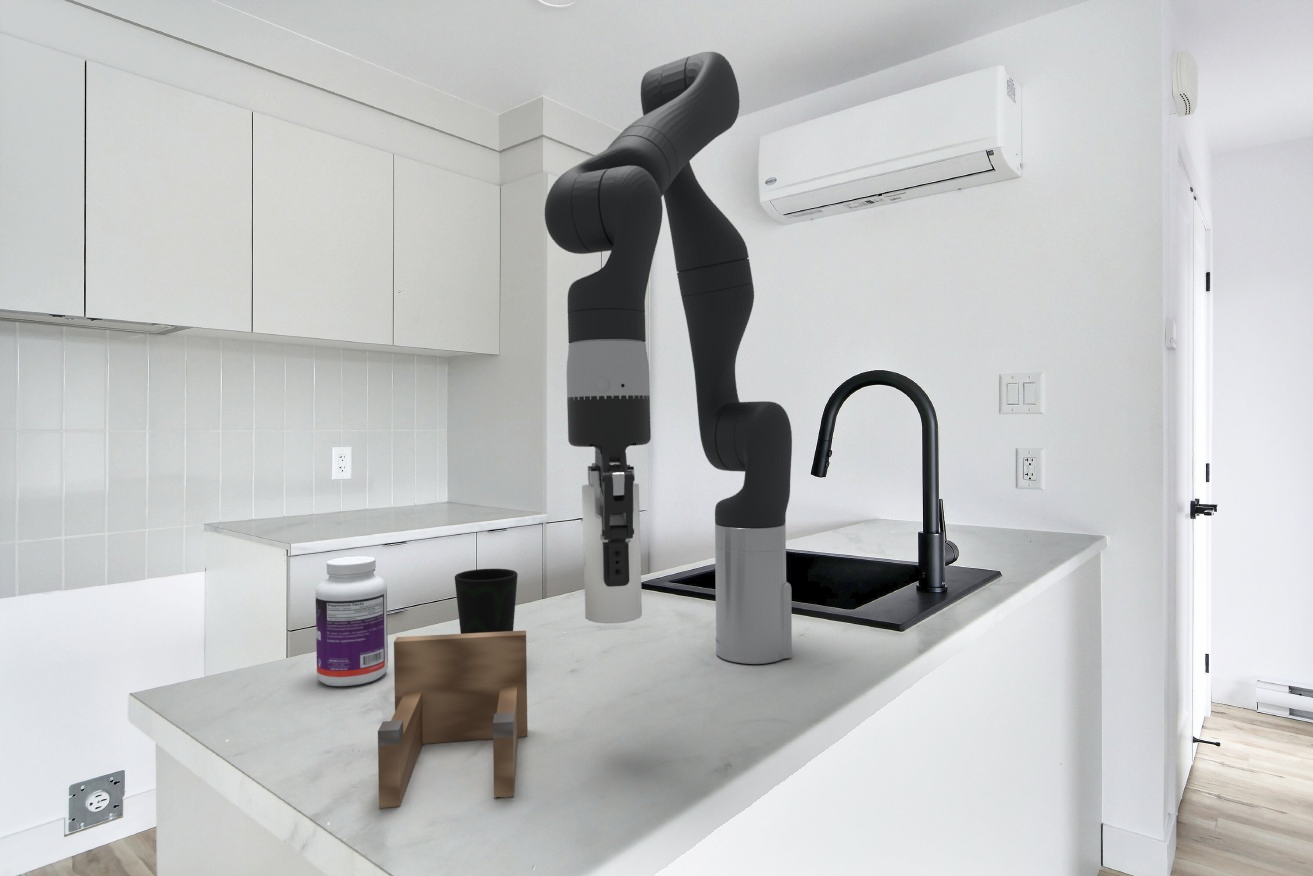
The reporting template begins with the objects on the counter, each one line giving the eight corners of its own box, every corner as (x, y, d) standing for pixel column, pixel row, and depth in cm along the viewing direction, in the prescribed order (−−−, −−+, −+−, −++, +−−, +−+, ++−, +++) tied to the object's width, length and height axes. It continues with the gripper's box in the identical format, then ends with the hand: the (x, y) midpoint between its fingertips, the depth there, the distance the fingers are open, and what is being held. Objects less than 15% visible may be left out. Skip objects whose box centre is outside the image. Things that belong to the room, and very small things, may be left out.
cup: (504, 682, 90) (502, 581, 89) (444, 678, 91) (443, 579, 91) (527, 662, 97) (526, 569, 97) (472, 659, 99) (471, 567, 98)
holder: (527, 729, 75) (526, 630, 75) (525, 795, 62) (523, 675, 62) (398, 739, 73) (396, 637, 73) (367, 809, 60) (365, 684, 60)
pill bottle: (330, 668, 95) (328, 555, 95) (395, 666, 96) (393, 553, 96) (306, 691, 87) (304, 567, 87) (377, 688, 88) (375, 565, 88)
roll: (637, 606, 72) (634, 480, 72) (645, 621, 67) (642, 485, 67) (583, 610, 71) (580, 482, 71) (587, 625, 66) (583, 487, 66)
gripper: (662, 389, 62) (667, 594, 63) (638, 394, 76) (642, 561, 77) (570, 391, 61) (576, 600, 61) (563, 396, 75) (568, 565, 76)
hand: (613, 577), depth 69 cm, fingers closed on roll, 5 cm apart
